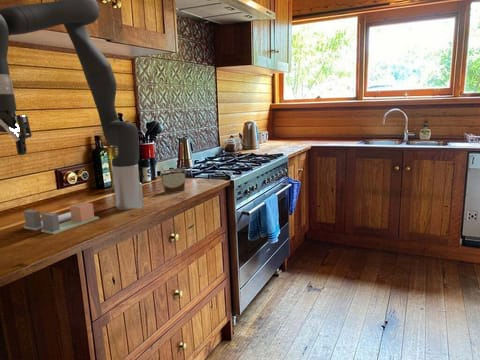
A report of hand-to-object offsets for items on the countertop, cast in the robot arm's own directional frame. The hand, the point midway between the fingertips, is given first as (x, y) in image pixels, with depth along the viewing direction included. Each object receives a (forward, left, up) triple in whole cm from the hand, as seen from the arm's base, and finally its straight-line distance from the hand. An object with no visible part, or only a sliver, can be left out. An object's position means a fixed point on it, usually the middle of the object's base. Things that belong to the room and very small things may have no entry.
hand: (8, 154), depth 99 cm
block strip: (-17, -2, -25) cm, 31 cm away
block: (-22, -2, -25) cm, 33 cm away
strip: (-17, -11, -25) cm, 32 cm away
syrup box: (-67, -30, -27) cm, 78 cm away
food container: (-73, -5, -27) cm, 78 cm away
